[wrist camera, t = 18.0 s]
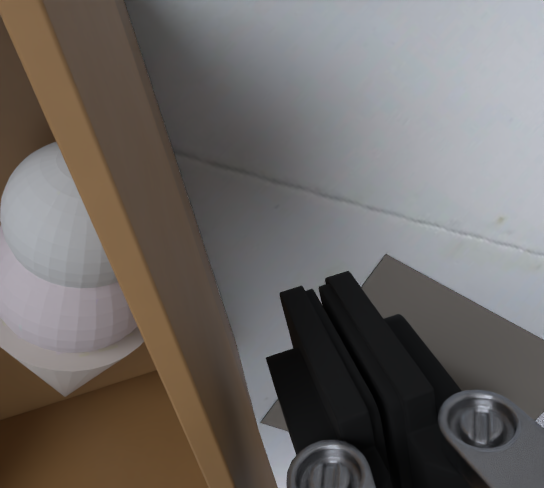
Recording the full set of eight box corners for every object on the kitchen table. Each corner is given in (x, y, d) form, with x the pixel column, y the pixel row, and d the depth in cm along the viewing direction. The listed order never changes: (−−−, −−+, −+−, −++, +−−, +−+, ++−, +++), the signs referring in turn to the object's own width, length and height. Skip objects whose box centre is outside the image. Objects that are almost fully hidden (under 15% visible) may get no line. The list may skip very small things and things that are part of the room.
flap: (-75, -153, 4) (-23, -164, 4) (66, -76, 9) (87, -82, 10) (317, 737, 13) (333, 731, 13) (271, 505, 18) (282, 501, 18)
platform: (470, 488, 36) (531, 582, 31) (260, 422, 29) (289, 530, 23) (588, 364, 33) (681, 443, 27) (385, 254, 26) (455, 331, 20)
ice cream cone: (1, 341, 25) (-20, 75, 15) (129, 340, 27) (189, 109, 17) (-18, 470, 21) (-63, 233, 11) (133, 456, 24) (212, 249, 13)
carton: (-295, 45, 16) (-661, 97, 9) (107, -52, 17) (80, -78, 10) (-19, 427, 25) (-87, 614, 18) (236, 345, 26) (273, 488, 19)
